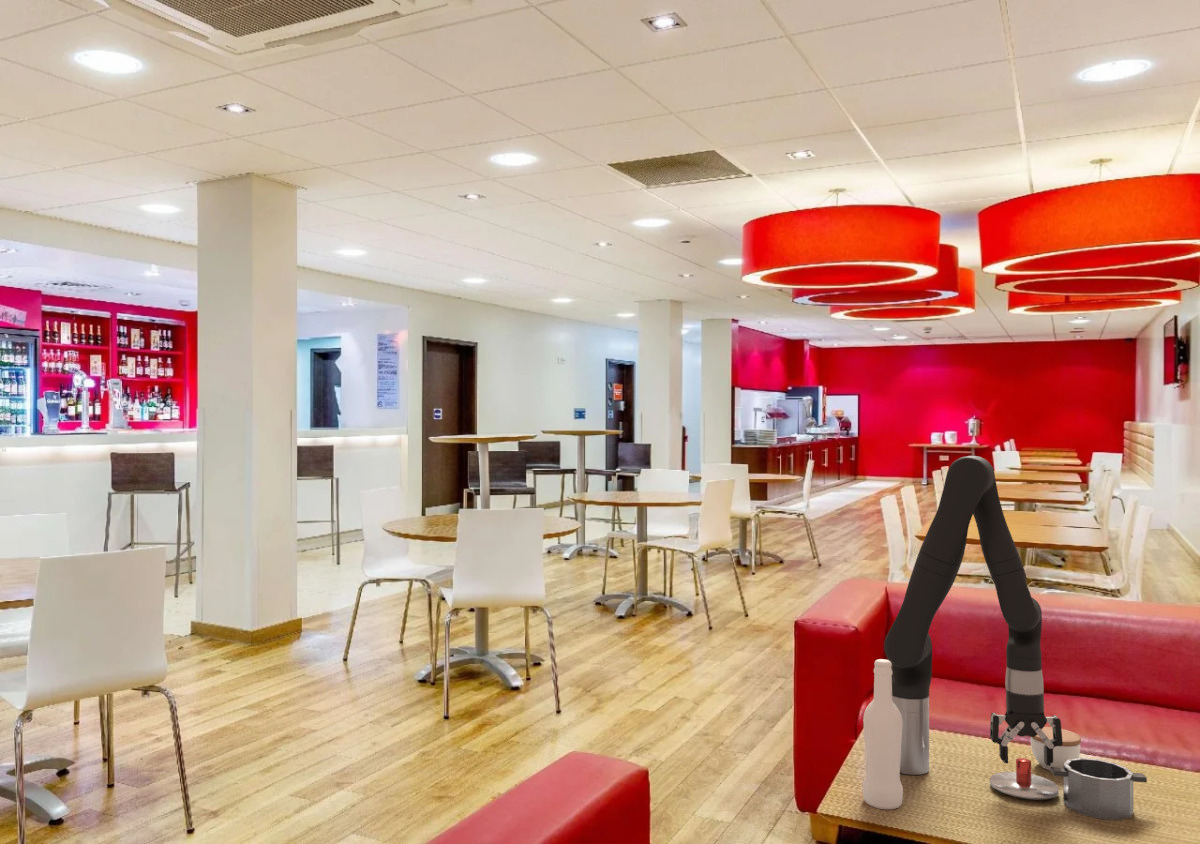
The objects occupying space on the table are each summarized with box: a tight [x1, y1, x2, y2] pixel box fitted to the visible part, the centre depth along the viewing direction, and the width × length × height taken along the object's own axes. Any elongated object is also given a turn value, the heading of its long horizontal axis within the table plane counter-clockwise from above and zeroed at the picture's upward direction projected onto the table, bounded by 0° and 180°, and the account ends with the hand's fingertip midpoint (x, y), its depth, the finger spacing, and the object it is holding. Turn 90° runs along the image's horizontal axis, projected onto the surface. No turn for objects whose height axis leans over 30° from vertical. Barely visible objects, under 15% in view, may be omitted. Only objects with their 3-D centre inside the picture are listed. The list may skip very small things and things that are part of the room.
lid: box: [989, 757, 1060, 801], centre depth 200 cm, size 14×14×7 cm
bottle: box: [862, 658, 904, 810], centre depth 193 cm, size 8×8×30 cm
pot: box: [1049, 757, 1148, 821], centre depth 192 cm, size 18×12×8 cm
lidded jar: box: [1030, 726, 1082, 771], centre depth 215 cm, size 11×11×9 cm
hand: (1026, 763), depth 200 cm, fingers open, 8 cm apart
